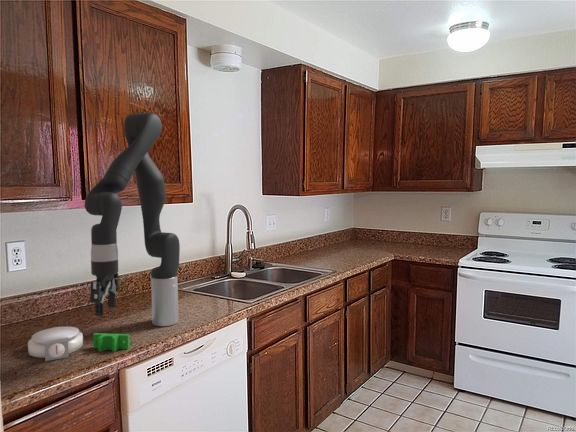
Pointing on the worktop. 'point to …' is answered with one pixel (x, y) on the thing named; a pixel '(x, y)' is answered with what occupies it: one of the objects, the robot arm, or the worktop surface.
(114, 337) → the pipe clamp
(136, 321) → the worktop surface
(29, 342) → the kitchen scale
